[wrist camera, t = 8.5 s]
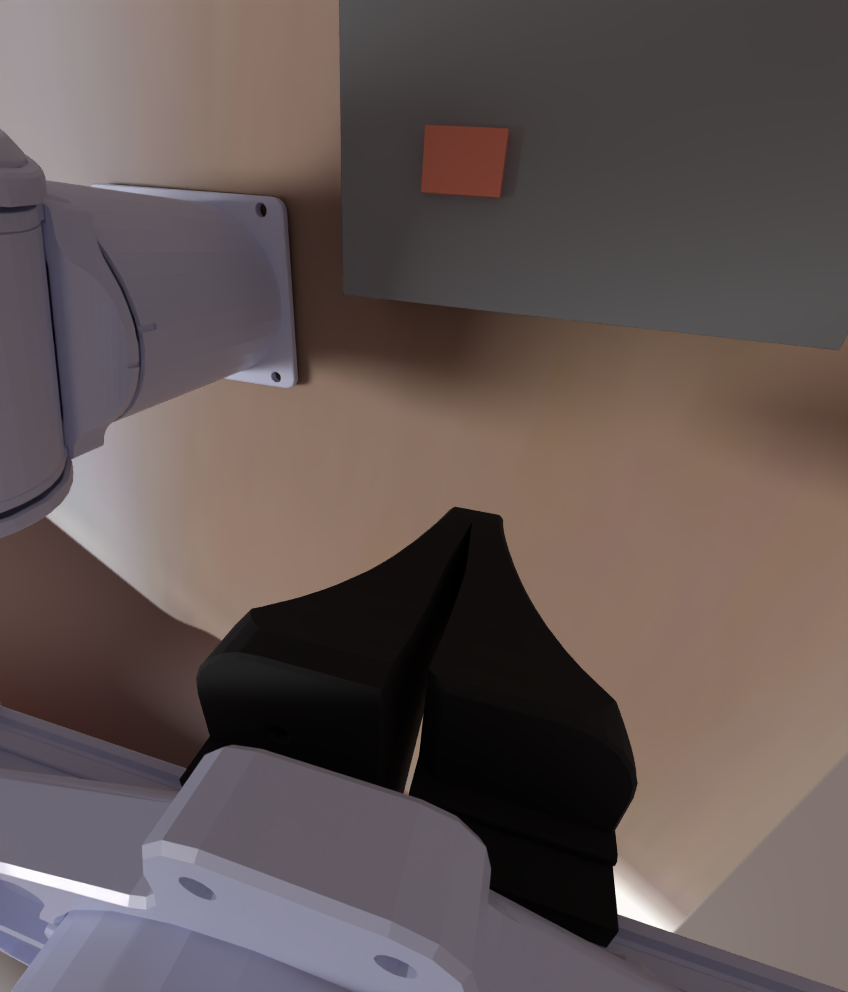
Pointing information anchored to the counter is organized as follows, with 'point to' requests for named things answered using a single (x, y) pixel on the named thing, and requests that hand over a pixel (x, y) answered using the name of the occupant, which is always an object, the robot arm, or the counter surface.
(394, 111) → the grey rectangular box
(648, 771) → the counter surface
